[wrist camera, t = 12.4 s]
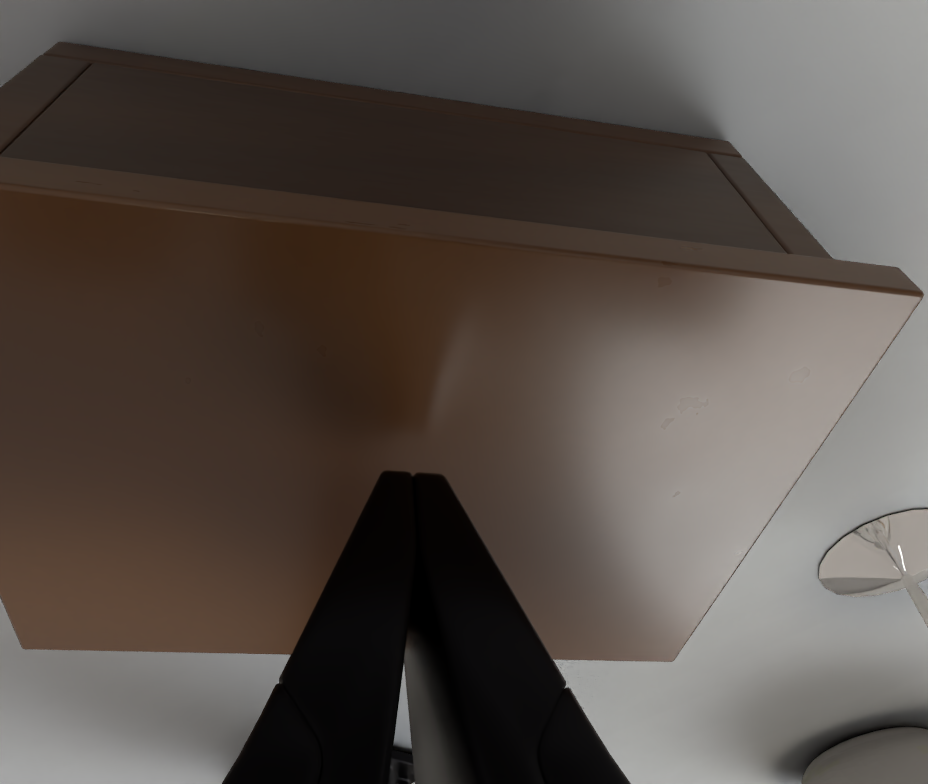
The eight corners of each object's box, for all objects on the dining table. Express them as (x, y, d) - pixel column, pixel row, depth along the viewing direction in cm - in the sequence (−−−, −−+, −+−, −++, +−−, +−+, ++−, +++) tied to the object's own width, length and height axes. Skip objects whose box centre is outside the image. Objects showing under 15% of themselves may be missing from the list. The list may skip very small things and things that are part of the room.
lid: (-148, 136, 8) (-188, 162, 7) (899, 265, 10) (928, 294, 9) (36, 616, 13) (21, 650, 13) (664, 633, 16) (673, 663, 15)
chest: (56, 39, 12) (-128, 188, 8) (730, 140, 14) (875, 301, 10) (124, 406, 18) (37, 613, 14) (604, 441, 20) (663, 630, 16)
